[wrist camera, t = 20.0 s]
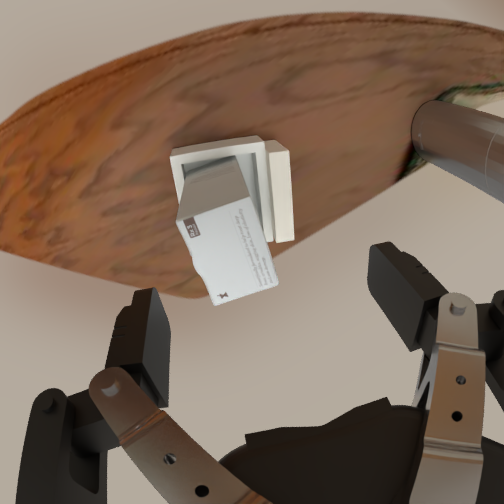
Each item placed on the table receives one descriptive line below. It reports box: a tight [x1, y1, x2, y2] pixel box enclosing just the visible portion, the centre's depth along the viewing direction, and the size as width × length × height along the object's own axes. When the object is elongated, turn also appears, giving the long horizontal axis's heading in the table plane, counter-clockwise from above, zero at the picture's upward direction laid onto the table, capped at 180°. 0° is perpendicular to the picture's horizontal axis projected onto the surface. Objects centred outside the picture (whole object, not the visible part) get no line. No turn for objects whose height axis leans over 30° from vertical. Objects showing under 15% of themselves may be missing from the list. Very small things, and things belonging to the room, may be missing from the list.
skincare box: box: [176, 155, 279, 306], centre depth 30 cm, size 8×6×15 cm
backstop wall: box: [264, 140, 294, 243], centre depth 35 cm, size 2×10×6 cm, turn 6°
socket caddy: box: [170, 135, 273, 255], centre depth 36 cm, size 10×12×4 cm
